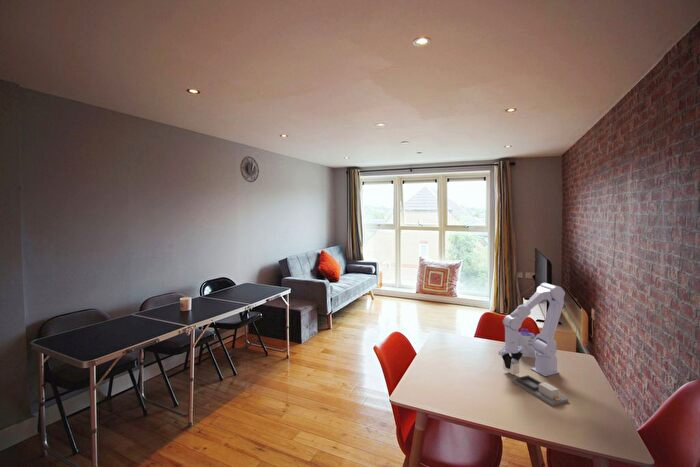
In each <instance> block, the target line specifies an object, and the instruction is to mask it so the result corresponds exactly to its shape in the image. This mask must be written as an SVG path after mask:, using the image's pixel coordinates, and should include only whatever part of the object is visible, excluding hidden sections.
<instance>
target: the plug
mask: <svg viewBox="0 0 700 467" xmlns="http://www.w3.org/2000/svg"><path fill="white" fill-rule="evenodd" d="M502 360H503V359H502ZM502 362H503V363H502V364H503V365H502V370H504V371H506V372H507V373H509V374H511V375H517V374H520V364H521V363H520V360H519V361H518V360H516V359H514V358H512V360H511V364H510V369H508V368H506V367H505V363H504V360H503V361H502Z"/></svg>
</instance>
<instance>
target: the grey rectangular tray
mask: <svg viewBox="0 0 700 467" xmlns="http://www.w3.org/2000/svg"><path fill="white" fill-rule="evenodd" d="M512 383H513V384H515V385H516V386H518V387H520V388H522V389H523V390H525V391H527V392H528V393H530V394H531V395H533V396H535V397H536V398H538V399H539V400H542V401H543V402H545V403H546V404H548V405H550V406H552V407H555V406H558V405H561V404H565V403H568V402H569V398H568V397H566V396H564V395H563V394H560V393H559V388H557V387H555V386H554V385H551V384H550V383H548V382H546V381H543V382H542V381H540V380H538V379H536V378H534V377H532V376H530V375H528V374H527V375H524V376H519V377H517V378H513V379H512Z"/></svg>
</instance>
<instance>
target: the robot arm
mask: <svg viewBox="0 0 700 467" xmlns="http://www.w3.org/2000/svg"><path fill="white" fill-rule="evenodd" d="M565 295H566V292H565V290H564V289H563V288H562V286H559V285H554V284H550V283H548V282H542V283H540V285H539V286H537V287H536V291H535V292H534V294H532V296H530V298H529V299H527V301H526V302H525V304H520V305H518V306H516V308H515V310H513V311H511V313H510V314H507V315H506V316H504V318H503V319H502V324H503V326H504V346H503V348H501V349H499V350H498V355H499V356H500V357H501V358H502V360H504V363H505V367H506V368H508V369H510V364H511V360H512V358H514V359H516V360H518V361H520V359H522V357H523V356H522V353H520V351H524V347H522V346H518V332H519V329H521V327H522V324H523V322H524V321H525V319H526V318H528V317H529V316H530V315H531V310H532V309H533V308H535V307H536V306H537V305H538V304H540V303H541V302H542V301H544V300H545V301H546V300H547V301H548V304H549V306H548V308H547V310H546V315H545V318H544V322H543V325H542V328H541V332H540V333H537V334H535V336H536V338H535V339H534V340H533V342H532V346H533V348H534V349H535V358H534V359H535V361H534V363H535V364H534V365H535V366H533V367H531V368H530V370H532V371H534V372H536V373H537V374H540V375H542V376H544V377H548V376H552V375H556V374H559V371H558V359H557V356H556V354H557V345H558V343H557V341H556V339H555V333H556V331H557V327H558V325H559V321H560V317H561V314H562V311H563V307H564V303H565V301H564V298H565Z"/></svg>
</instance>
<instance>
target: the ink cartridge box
mask: <svg viewBox="0 0 700 467" xmlns="http://www.w3.org/2000/svg"><path fill="white" fill-rule="evenodd" d="M535 338H536V334H535V333H534V332H529V329H528V328H521V327H520V331H518V346H522V347H524V351H520V353H522V357H525V358H533V359H535V356H536V352H535V349H534V348H533V346H532V342H533V340H534V339H535Z"/></svg>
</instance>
